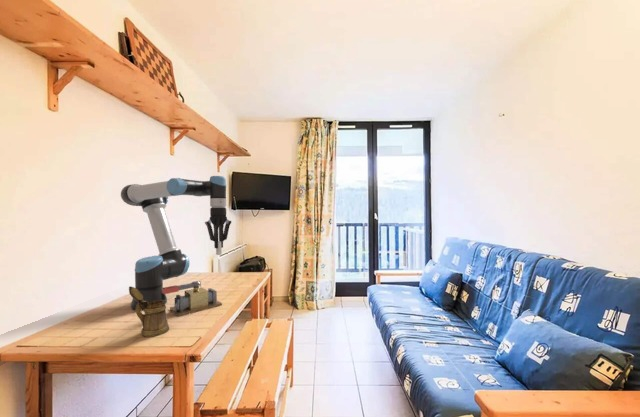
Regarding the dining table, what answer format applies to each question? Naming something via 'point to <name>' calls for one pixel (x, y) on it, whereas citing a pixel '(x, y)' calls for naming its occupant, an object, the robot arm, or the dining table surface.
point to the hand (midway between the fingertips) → (218, 254)
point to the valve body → (195, 301)
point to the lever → (180, 287)
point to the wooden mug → (150, 314)
